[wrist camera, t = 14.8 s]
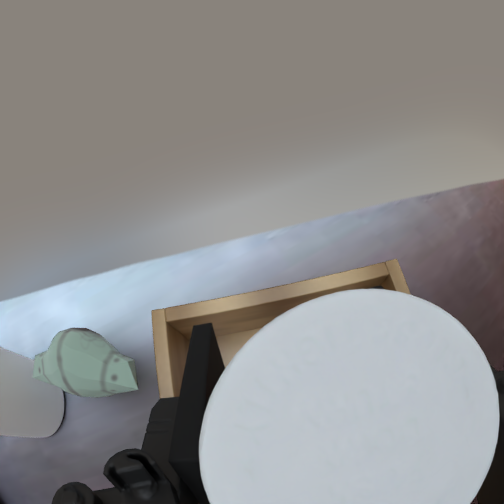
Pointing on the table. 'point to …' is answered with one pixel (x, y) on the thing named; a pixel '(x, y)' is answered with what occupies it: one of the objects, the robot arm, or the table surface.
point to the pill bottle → (352, 407)
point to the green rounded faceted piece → (85, 365)
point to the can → (27, 399)
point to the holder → (249, 316)
